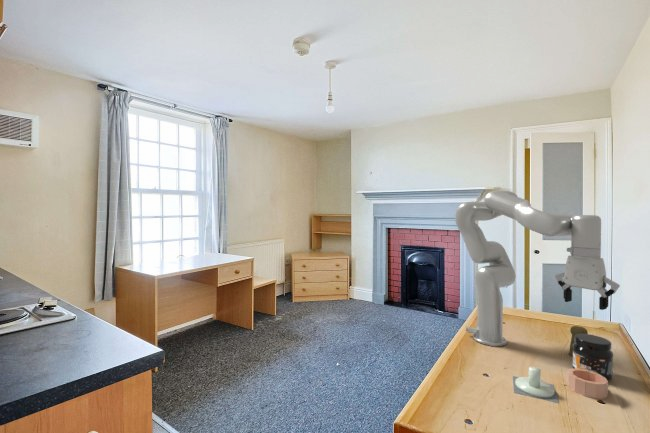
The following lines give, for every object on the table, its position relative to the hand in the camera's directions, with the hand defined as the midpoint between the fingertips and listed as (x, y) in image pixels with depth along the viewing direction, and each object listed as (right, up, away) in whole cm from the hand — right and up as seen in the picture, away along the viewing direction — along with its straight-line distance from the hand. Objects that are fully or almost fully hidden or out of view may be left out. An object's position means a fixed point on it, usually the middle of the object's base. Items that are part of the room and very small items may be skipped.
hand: (584, 305), depth 105 cm
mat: (-21, -24, -7) cm, 33 cm away
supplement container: (+5, -24, +3) cm, 25 cm away
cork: (+11, -24, +17) cm, 31 cm away
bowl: (-5, -24, -7) cm, 26 cm away
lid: (-21, -24, -7) cm, 32 cm away
